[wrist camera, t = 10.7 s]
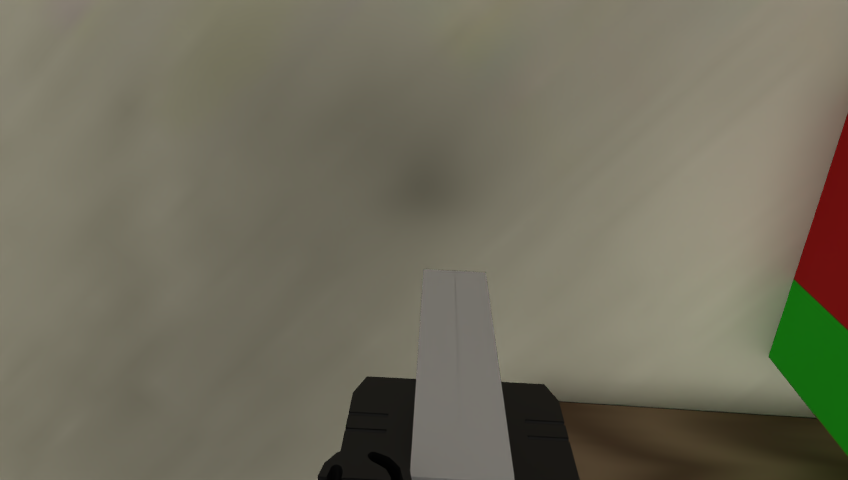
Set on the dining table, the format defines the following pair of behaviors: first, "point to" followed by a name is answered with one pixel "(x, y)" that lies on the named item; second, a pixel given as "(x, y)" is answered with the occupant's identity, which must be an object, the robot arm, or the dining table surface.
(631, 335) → the dining table surface
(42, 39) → the dining table surface
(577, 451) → the walnut bay
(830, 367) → the puzzle toy
